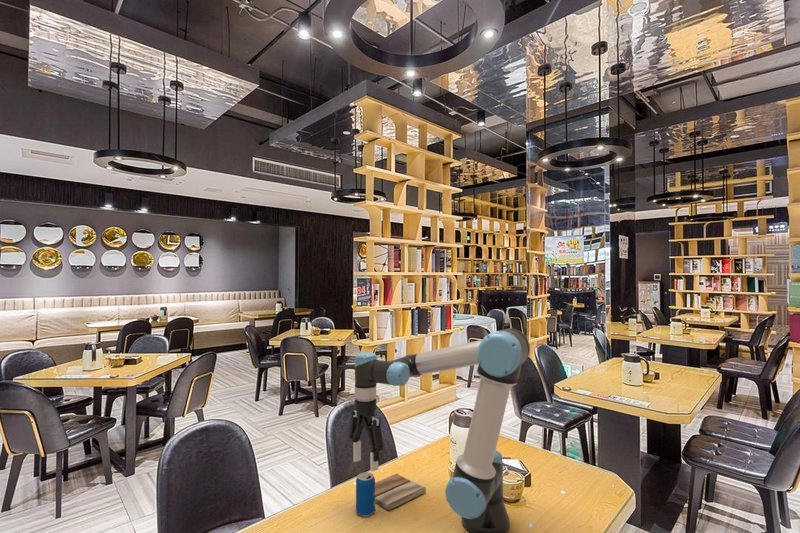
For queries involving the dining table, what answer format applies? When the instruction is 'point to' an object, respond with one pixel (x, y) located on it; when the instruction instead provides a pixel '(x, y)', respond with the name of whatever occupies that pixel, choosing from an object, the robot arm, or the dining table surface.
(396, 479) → the walnut board
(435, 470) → the dining table surface
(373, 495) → the beverage can
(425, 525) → the dining table surface
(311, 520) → the dining table surface
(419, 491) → the plank
